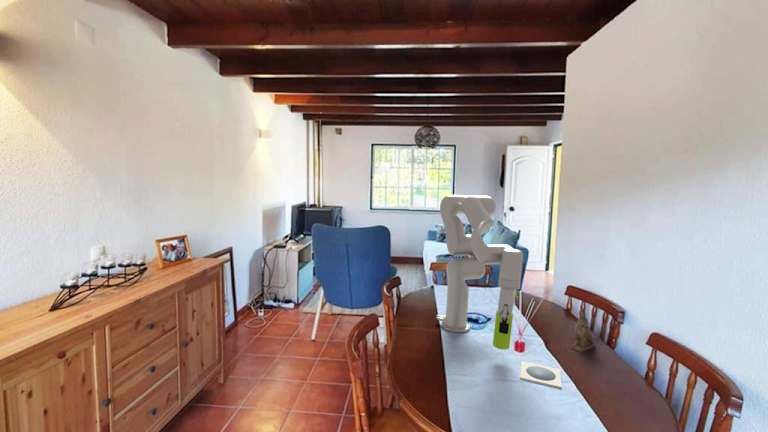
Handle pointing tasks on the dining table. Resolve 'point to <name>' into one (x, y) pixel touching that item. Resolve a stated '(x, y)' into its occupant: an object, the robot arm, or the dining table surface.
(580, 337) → the brown carved statuette
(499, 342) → the soap dispenser
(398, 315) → the dining table surface
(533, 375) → the card
